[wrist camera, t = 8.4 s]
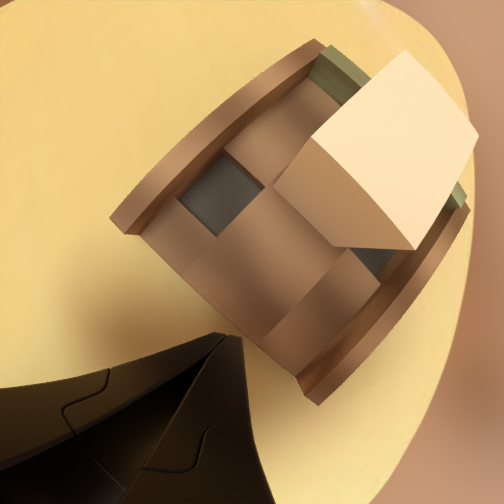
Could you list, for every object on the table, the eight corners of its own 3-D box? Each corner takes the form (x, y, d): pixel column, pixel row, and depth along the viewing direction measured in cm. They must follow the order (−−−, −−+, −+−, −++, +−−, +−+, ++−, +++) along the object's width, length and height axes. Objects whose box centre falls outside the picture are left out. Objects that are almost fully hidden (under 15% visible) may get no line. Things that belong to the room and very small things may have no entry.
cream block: (333, 246, 16) (415, 250, 8) (272, 187, 16) (310, 136, 8) (394, 170, 16) (479, 135, 8) (342, 115, 16) (405, 49, 8)
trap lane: (302, 376, 18) (320, 410, 13) (134, 222, 17) (104, 217, 12) (436, 214, 18) (475, 209, 14) (300, 70, 17) (315, 33, 13)
